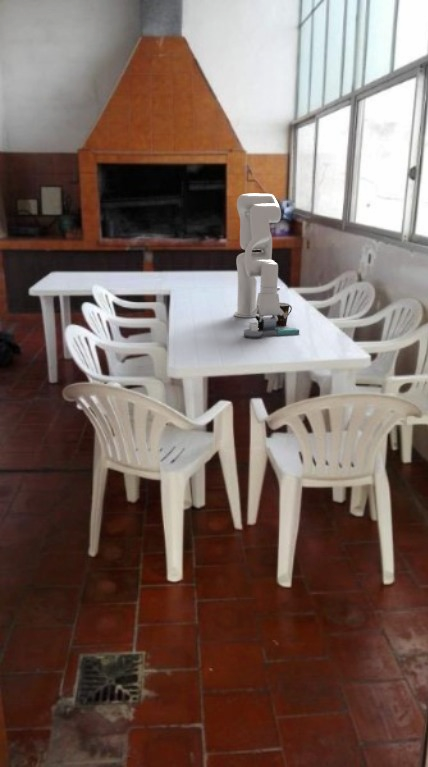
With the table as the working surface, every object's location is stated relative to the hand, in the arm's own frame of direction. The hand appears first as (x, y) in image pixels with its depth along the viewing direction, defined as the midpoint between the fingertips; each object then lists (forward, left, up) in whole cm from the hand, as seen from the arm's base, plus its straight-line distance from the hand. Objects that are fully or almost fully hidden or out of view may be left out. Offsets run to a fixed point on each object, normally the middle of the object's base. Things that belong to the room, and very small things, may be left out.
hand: (267, 329), depth 268 cm
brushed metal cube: (0, 0, -1) cm, 1 cm away
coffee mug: (-10, +12, -1) cm, 16 cm away
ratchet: (+8, -1, -1) cm, 8 cm away
